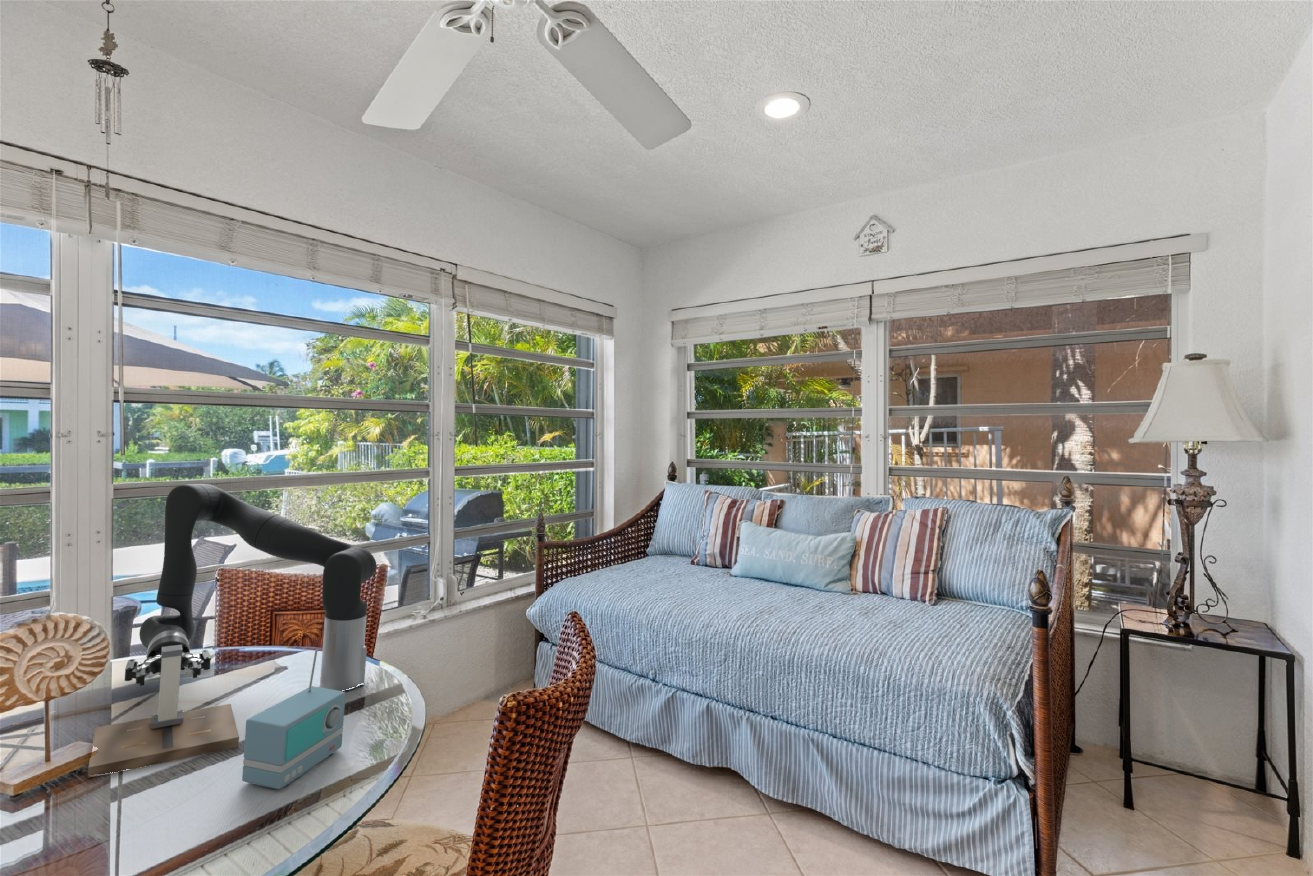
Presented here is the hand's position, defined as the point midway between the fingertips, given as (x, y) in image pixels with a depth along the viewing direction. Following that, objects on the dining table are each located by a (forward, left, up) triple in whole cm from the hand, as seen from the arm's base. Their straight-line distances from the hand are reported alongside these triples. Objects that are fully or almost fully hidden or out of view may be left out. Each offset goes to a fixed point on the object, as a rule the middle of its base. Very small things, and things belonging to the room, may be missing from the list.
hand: (169, 677), depth 129 cm
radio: (-19, +29, -11) cm, 36 cm away
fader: (0, +3, -8) cm, 9 cm away
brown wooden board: (0, +7, -11) cm, 12 cm away
